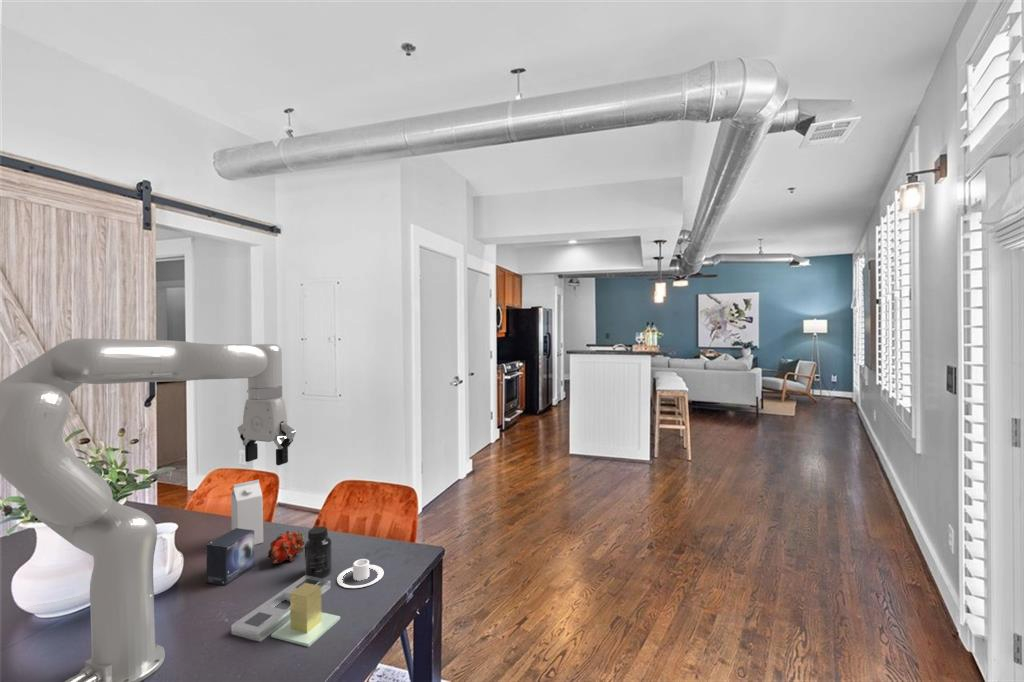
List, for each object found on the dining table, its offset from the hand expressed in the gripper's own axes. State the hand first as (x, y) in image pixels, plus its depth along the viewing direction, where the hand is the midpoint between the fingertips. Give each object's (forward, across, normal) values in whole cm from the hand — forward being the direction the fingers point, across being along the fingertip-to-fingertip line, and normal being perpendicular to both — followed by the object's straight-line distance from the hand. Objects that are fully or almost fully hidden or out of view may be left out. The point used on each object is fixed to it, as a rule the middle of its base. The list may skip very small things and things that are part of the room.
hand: (266, 462), depth 118 cm
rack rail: (+33, +9, -4) cm, 35 cm away
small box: (+34, -17, +4) cm, 38 cm away
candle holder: (+34, +17, +14) cm, 40 cm away
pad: (+33, +19, -8) cm, 39 cm away
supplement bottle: (+34, +5, +12) cm, 36 cm away
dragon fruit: (+34, -9, +15) cm, 38 cm away
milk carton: (+34, -29, +20) cm, 49 cm away
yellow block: (+33, +19, -8) cm, 39 cm away
